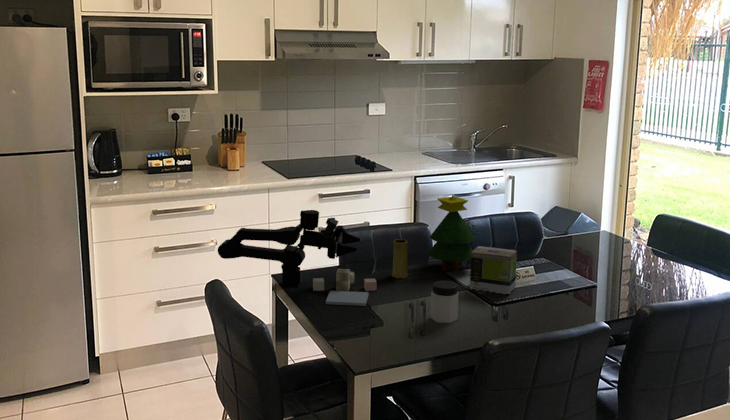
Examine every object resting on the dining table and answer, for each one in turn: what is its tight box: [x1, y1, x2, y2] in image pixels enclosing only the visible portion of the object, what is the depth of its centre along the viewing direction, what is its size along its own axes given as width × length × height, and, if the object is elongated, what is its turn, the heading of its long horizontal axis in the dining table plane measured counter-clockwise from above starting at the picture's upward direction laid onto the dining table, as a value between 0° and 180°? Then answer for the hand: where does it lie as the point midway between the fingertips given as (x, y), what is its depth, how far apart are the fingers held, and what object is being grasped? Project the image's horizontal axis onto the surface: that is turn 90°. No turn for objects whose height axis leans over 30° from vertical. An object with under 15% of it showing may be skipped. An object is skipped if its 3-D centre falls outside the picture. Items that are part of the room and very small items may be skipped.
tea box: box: [469, 245, 518, 295], centre depth 272 cm, size 15×10×15 cm
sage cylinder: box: [350, 271, 355, 285], centre depth 280 cm, size 4×4×4 cm
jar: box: [429, 280, 459, 324], centre depth 244 cm, size 9×8×12 cm
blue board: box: [325, 290, 370, 307], centre depth 262 cm, size 14×11×1 cm
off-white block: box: [312, 277, 325, 292], centre depth 272 cm, size 4×4×4 cm
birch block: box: [335, 268, 351, 292], centre depth 272 cm, size 4×4×7 cm
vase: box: [391, 238, 409, 279], centre depth 286 cm, size 6×6×14 cm
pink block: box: [363, 278, 378, 292], centre depth 272 cm, size 4×4×4 cm
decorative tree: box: [427, 195, 477, 272], centre depth 293 cm, size 19×19×30 cm
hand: (358, 244), depth 271 cm, fingers open, 9 cm apart
